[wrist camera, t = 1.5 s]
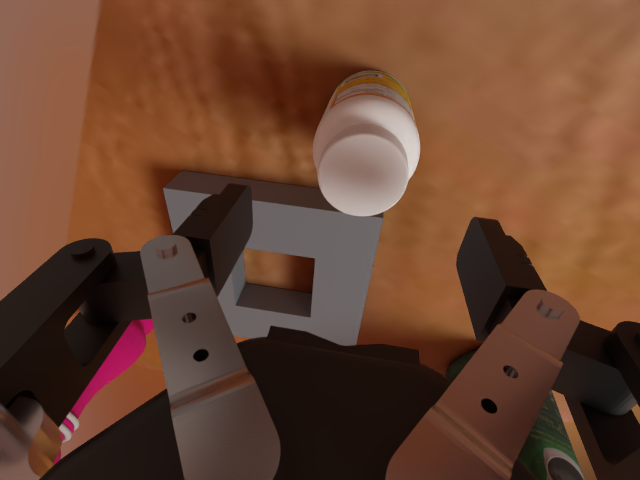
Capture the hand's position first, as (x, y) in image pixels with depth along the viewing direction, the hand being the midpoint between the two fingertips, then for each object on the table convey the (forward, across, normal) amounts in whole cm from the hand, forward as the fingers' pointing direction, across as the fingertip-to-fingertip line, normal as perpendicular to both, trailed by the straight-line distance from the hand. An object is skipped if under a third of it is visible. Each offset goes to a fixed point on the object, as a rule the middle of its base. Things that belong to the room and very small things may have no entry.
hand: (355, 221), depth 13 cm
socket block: (+13, +6, +14) cm, 20 cm away
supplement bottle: (+13, 0, 0) cm, 13 cm away
